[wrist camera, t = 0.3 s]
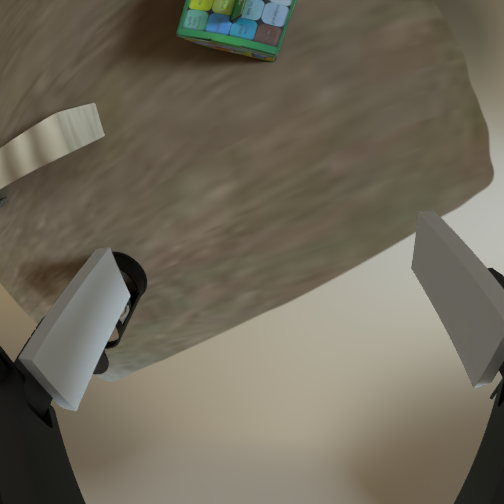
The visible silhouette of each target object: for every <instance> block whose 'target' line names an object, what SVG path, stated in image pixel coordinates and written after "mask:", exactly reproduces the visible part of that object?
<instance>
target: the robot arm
mask: <svg viewBox="0 0 504 504" xmlns="http://www.w3.org/2000/svg"><path fill="white" fill-rule="evenodd" d="M412 270H413V271H414V273H415V275H416V277H417V278H418V280H419V282H420V283H421V285H422V287H423V289H424V290H425V292H426V294H427V296H428V297H429V299H430V301H431V303H432V304H433V306H434V308H435V310H436V312H437V313H438V315H439V317H440V319H441V321H442V323H443V325H444V326H445V329H446V330H447V332H448V334H449V336H450V338H451V340H452V342H453V344H454V346H455V348H456V351H457V353H458V355H459V357H460V359H461V361H462V363H463V365H464V367H465V370H466V372H467V374H468V376H469V379H470V381H471V383H472V385H473V388H477V387H480V386H482V385H485V384H487V383H490V382H492V381H493V379H494V377H495V376H496V374H497V372H498V371H500V373H501V375H502V377H503V378H502V380H501V382H500V383H499V384H498V386H497V387H496V389H495V390H494V392H493V393H492V395H491V397H490V399H493V397H494V396H495V395H496V398H495V402H494V405H493V409H492V413H491V415H490V418H489V422H488V425H487V428H486V431H485V433H484V436H483V439H482V442H481V444H480V447H479V450H478V452H477V455H476V457H475V460H474V462H473V464H472V467H471V469H470V472H469V474H468V476H467V478H466V480H465V483H464V484H463V487H462V489H461V491H460V493H459V495H458V497H457V499H456V501H455V502H454V504H504V276H503V275H502V274H500V273H499V272H497V271H496V270H494V269H493V268H486V267H485V266H484V264H483V263H482V262H481V261H480V260H479V258H478V257H477V256H476V255H475V254H474V253H473V252H472V250H471V249H470V248H469V247H468V246H467V245H466V244H465V243H464V242H463V241H462V239H460V237H459V236H458V235H457V234H456V233H455V232H454V231H453V230H452V229H451V228H450V227H449V226H448V225H447V224H446V223H445V222H444V220H443V219H442V218H441V217H440V216H439V215H438V214H437V213H436V212H435V211H423V212H418V219H417V229H416V238H415V246H414V253H413V260H412ZM129 298H130V293H129V291H128V289H127V287H126V285H125V282H124V280H123V278H122V275H121V273H120V271H119V268H118V266H117V264H116V261H115V259H114V256H113V254H112V251H111V249H110V247H107V248H100V249H96V250H95V251H94V253H93V254H92V255H91V256H90V258H89V259H88V260H87V261H86V263H85V264H84V265H83V266H82V268H81V269H80V270H79V271H78V273H77V274H76V275H75V277H74V278H73V279H72V280H71V282H70V283H69V284H68V286H67V287H66V288H65V290H64V291H63V292H62V294H61V295H60V297H59V298H58V299H57V301H56V302H55V303H54V305H53V306H52V308H51V309H50V311H49V312H48V313H47V315H46V316H45V317H44V318H42V320H41V321H40V323H39V324H38V326H37V327H36V330H34V332H33V333H32V335H31V337H30V338H29V339H28V341H27V342H26V344H25V345H24V347H23V349H22V350H21V352H20V353H19V355H18V357H17V358H16V360H15V362H14V363H13V362H12V360H11V359H10V358H9V357H8V355H7V354H6V353H5V351H4V350H3V349H2V348H1V346H0V504H85V501H84V499H83V497H82V494H81V492H80V489H79V487H78V484H77V481H76V479H75V476H74V474H73V471H72V468H71V465H70V462H69V459H68V456H67V453H66V449H65V446H64V443H63V440H62V436H61V433H60V429H59V425H58V421H57V417H56V413H55V410H54V408H53V407H52V406H51V405H50V403H51V401H52V399H54V400H55V401H56V402H57V403H58V405H60V407H61V408H65V409H69V410H74V411H77V408H78V406H79V404H80V401H81V399H82V396H83V394H84V392H85V390H86V387H87V385H88V382H89V380H90V378H91V376H92V374H93V372H94V369H95V367H96V365H97V363H98V361H99V359H100V356H101V354H102V352H103V350H104V348H105V346H106V344H107V342H108V340H109V338H110V336H111V333H112V331H113V329H114V327H115V325H116V323H117V321H118V319H119V317H120V315H121V314H122V312H123V310H124V308H125V306H126V304H127V302H128V300H129ZM496 393H497V394H496Z"/></svg>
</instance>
